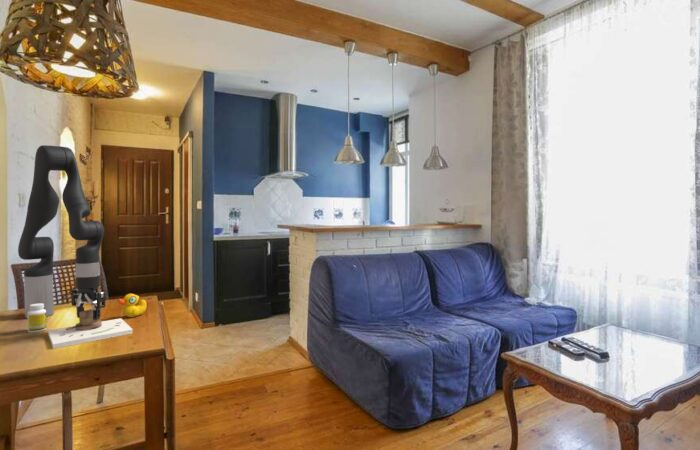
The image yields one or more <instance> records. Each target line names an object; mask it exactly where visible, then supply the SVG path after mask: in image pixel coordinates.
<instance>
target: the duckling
mask: <svg viewBox="0 0 700 450" xmlns="http://www.w3.org/2000/svg"><path fill="white" fill-rule="evenodd" d="M139 299H140V296H139V295H137V294H134V293H127V294H125V296H124V297H123V299H121V298H118V299H117V302H118V303H119V305H122V306H123V305H124V307H123V308H122V314H123V315H124V316H126V317H128V318H134V317H138V316H140V315H142V314H143V313H145V311H146V310H147V301H146V300H145V299H140V300H139Z"/></svg>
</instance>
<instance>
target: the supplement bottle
mask: <svg viewBox="0 0 700 450" xmlns="http://www.w3.org/2000/svg"><path fill="white" fill-rule="evenodd" d="M43 308H44V304H43V303H37V304H32V305H30V309H31V311H29V312H28V315H27V316H28V318H27V332H28V333H39V332H43V331H46V330H47V317H46V310H45V309H43Z"/></svg>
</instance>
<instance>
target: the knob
mask: <svg viewBox="0 0 700 450" xmlns="http://www.w3.org/2000/svg"><path fill="white" fill-rule="evenodd" d="M78 319H79V322H78V323H76V324H75V325H72V326H73V327H72V326H69V327H70V328H66V327H65V328H66V330H71V329H73V328H75V329H76V330H90V329H95V328H98V327H100V326H101V325H102V321H103V320H100V319H98V320H93V308H89V309H86V310H85V309H84V311H81V312H79V318H78Z"/></svg>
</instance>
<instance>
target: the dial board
mask: <svg viewBox="0 0 700 450" xmlns="http://www.w3.org/2000/svg"><path fill="white" fill-rule="evenodd" d="M101 321H102V325H101V326H100V327H98V328H95V329H90V330H76V329H75V328H73V329H71V330H66V328H70V327H73V326H74V325H72V326H67V327H60V328H53V329H49V330H47V336H48V338H49V341H50V344H51V347H52V349H54V350H55V349H59V348H65V347H69V346H74V345H80V344H86V343H90V342H95V341H101V340H105V339H112V338H115V337H120V336H126V335H130V334H131V335H132V334H133V333H134V332H133V331H134V330H133V328H132V327H131V326H130V325H129V324H128V323H127V322H126V321H125V320H123V318H120V317H119V318H115V319H108V320H101ZM111 337H112V338H111Z"/></svg>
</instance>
